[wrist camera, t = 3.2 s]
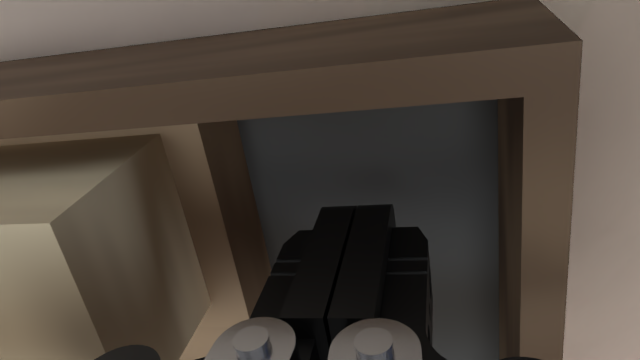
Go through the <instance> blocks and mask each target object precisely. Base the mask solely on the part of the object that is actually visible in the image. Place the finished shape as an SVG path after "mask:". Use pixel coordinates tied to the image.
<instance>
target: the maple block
mask: <svg viewBox="0 0 640 360" xmlns="http://www.w3.org/2000/svg"><path fill="white" fill-rule="evenodd" d="M210 304H211V301H210V298H209V294H208V291H207V288H206V284H205V281H204V278H203V275H202V271H201V268H200V265H199V261H198V258H197V255H196V251H195V248H194V245H193V241H192V238H191V235H190V232H189V228H188V225H187V222H186V218H185V215H184V212H183V208H182V205H181V202H180V198H179V195H178V192H177V188H176V185H175V182H174V179H173V175H172V172H171V169H170V165H169V162H168V159H167V155H166V152H165V149H164V145H163V142H162V139H161V136H160V134H148V135H135V136H122V137H109V138H96V139H83V140H70V141H57V142H44V143H31V144H18V145H5V146H0V360H94V359H96V358H98V357H99V356H101V355H103V354H105V353H107V352H109V351H111V350H114V349H116V348H119V347H123V346H128V345H145V346H149V347H151V348H153V349H154V350H155V351H157V353H158V354H159V356H160V359H161V360H179V359H180V357H181V355H182V353H183V352H184V350H185V348H186V346H187V345H188V343H189V341H190V339H191V338H192V336H193V334H194V332H195V331H196V329H197V327H198V325H199V324H200V322H201V320H202V318H203V317H204V315H205V313H206V311H207V310H208V308H209V306H210Z"/></svg>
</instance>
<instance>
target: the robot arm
mask: <svg viewBox="0 0 640 360" xmlns="http://www.w3.org/2000/svg"><path fill="white" fill-rule="evenodd" d="M432 319H433V296H432V283H431V271H430V258H429V246H428V240H427V238H426V237H425V236H424V234H423V233H422V231H421V230H420V229H419V227H396V221H395V213H394V207H393V204H378V205H358V206H333V207H322V208H321V210H320V212H319V215H318V217H317V220H316V222H315V225H314V227H313V230H299V231H297V232H296V233H295V234H294V235H293V236H292V237H291V238H290V239H288V240H287V241H286V242H285V243H284V244H283V246H282V248H281V250H280V253H279V255H278V257H277V259H276V263H274V266H273V268H272V270H271V272H270V276H269V277H268V279H267V281H266V283H265V285H264V287H263V290H262V292H261V294H260V296H259V298H258V301H257V303H256V305H255V307H254V309H253V312H252V314H251V316H250V318H249V319H247V320H244V321H241V322H239V323H237V324H235V325H233V326H231V327H230V328H228V329H227V330H226V331H224V332H223V333H222V334H221V335H220V336H219V337H218V338H217V340H216V341H215V342H214V344H213V346H212V347H211V349H210V350H209V352H208V354H207V355H206V357H203V358H199V359H195V360H447V359H446V358H444V357H443V356H441V355H440V354H439V353H438V352H437V351H436V350H435V349H434V348H433V347H432V334H433V320H432ZM94 360H161V359H160V356H159V354H158V353H157V351H155V350H154V349H153V348H151V347H149V346H145V345H128V346H123V347H119V348H116V349H114V350H111V351H109V352H107V353H105V354H103V355H101V356H99V357H98V358H96V359H94ZM500 360H541V359H536V358H531V357H509V358H504V359H500Z"/></svg>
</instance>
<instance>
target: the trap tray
mask: <svg viewBox="0 0 640 360" xmlns="http://www.w3.org/2000/svg"><path fill="white" fill-rule="evenodd" d="M582 41H583V40H581V39H580V38H579V37H578V36H577V35H576V34H575V33H574V32H573V31H572V30H571V29H569V28H568V27H567V26H566V25H565V24H564V23H563V22H562V21H561V20H560V19H558V18H557V17H556V16H555V15H554V14H553V13H552V12H551V11H550V10H549V9H547V8H546V7H545V6H544V5H543V4H542V3H541V2H540V1H539V0H497V1H489V2H481V3H473V4H465V5H457V6H449V7H441V8H433V9H425V10H417V11H408V12H400V13H392V14H384V15H376V16H368V17H360V18H352V19H344V20H336V21H328V22H320V23H312V24H304V25H295V26H287V27H279V28H271V29H263V30H255V31H247V32H239V33H231V34H223V35H215V36H207V37H199V38H191V39H183V40H174V41H166V42H158V43H150V44H142V45H134V46H126V47H118V48H110V49H102V50H94V51H86V52H78V53H70V54H61V55H53V56H45V57H37V58H29V59H21V60H13V61H5V62H0V146H5V145H18V144H31V143H44V142H57V141H70V140H83V139H96V138H109V137H122V136H135V135H148V134H160V136H161V139H162V142H163V145H164V149H165V152H166V155H167V159H168V162H169V165H170V169H171V172H172V175H173V179H174V182H175V185H176V188H177V192H178V195H179V198H180V202H181V205H182V208H183V212H184V215H185V218H186V222H187V225H188V228H189V232H190V235H191V238H192V241H193V245H194V248H195V251H196V255H197V258H198V261H199V265H200V268H201V271H202V275H203V278H204V281H205V284H206V288H207V291H208V294H209V298H210V301H211V304H210V306H209V308H208V310H207V311H206V313H205V315H204V317H203V318H202V320H201V322H200V324H199V325H198V327H197V329H196V331H195V332H194V334H193V336H192V338H191V339H190V341H189V343H188V345H187V346H186V348H185V350H184V352H183V353H182V355H181V357H180V359H179V360H195V359H199V358H203V357H206V355H207V354H208V352H209V350H210V349H211V347H212V346H213V344H214V342H215V341H216V340H217V338H218V337H219V336H220V335H221V334H222V333H223V332H224V331H226V330H227V329H228V328H230V327H231V326H233V325H235V324H237V323H239V322H241V321H244V320H247V319H249V318H250V316H251V314H252V312H253V309H254V307H255V305H256V303H257V301H258V298H259V296H260V294H261V292H262V290H263V287H264V285H265V283H266V281H267V279H268V277H269V276H270V272H271V270H272V268H273V266H274V263H276V259H277V257H278V255H279V253H280V250H281V248H282V246H283V244H284V243H285V242H286V241H287V240H288V239H290V238H291V237H292V236H293V235H294V234H295V233H296V232H297V231H299V230H313V227H314V225H315V222H316V220H317V217H318V215H319V212H320V210H321V208H322V207H333V206H358V205H378V204H393V207H394V213H395V221H396V227H419V229H420V230H421V231H422V233H423V234H424V236H425V237H426V238H427V240H428V246H429V258H430V271H431V283H432V296H433V319H432V320H433V334H432V347H433V348H434V349H435V350H436V351H437V352H438V353H439V354H440V355H441V356H443V357H444V358H446V359H447V360H500V359H504V358H509V357H531V358H536V359H541V360H562V358H563V342H564V326H565V310H566V295H567V279H568V263H569V247H570V231H571V215H572V199H573V183H574V168H575V152H576V136H577V120H578V104H579V88H580V72H581V56H582Z"/></svg>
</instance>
